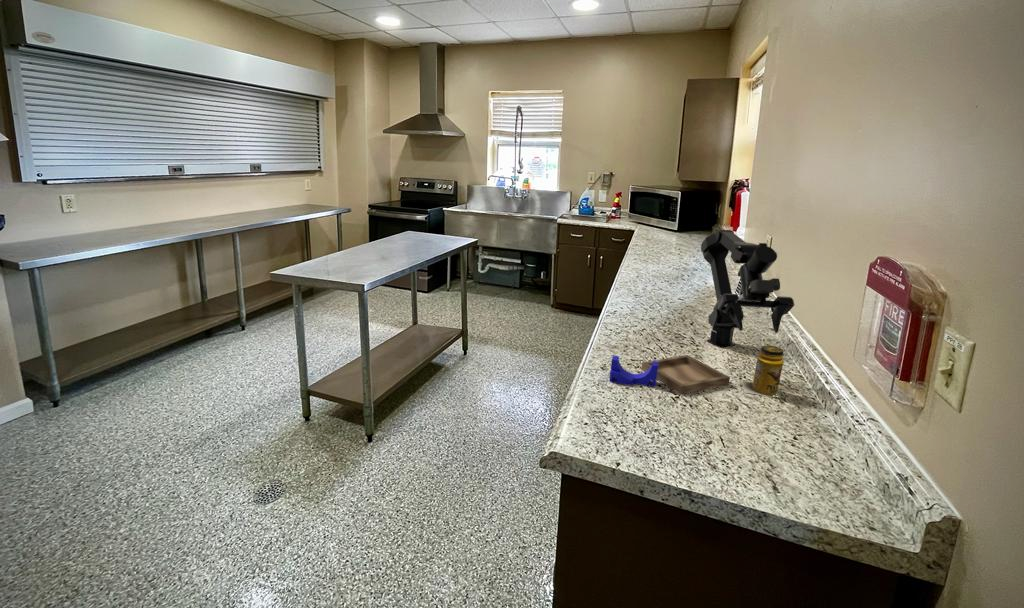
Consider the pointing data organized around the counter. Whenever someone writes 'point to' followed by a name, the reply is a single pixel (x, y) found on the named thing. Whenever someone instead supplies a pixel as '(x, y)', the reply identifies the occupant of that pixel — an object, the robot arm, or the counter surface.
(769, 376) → the condiment
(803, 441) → the counter surface
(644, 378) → the cable clip
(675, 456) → the counter surface
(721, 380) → the dock holder
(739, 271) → the robot arm
